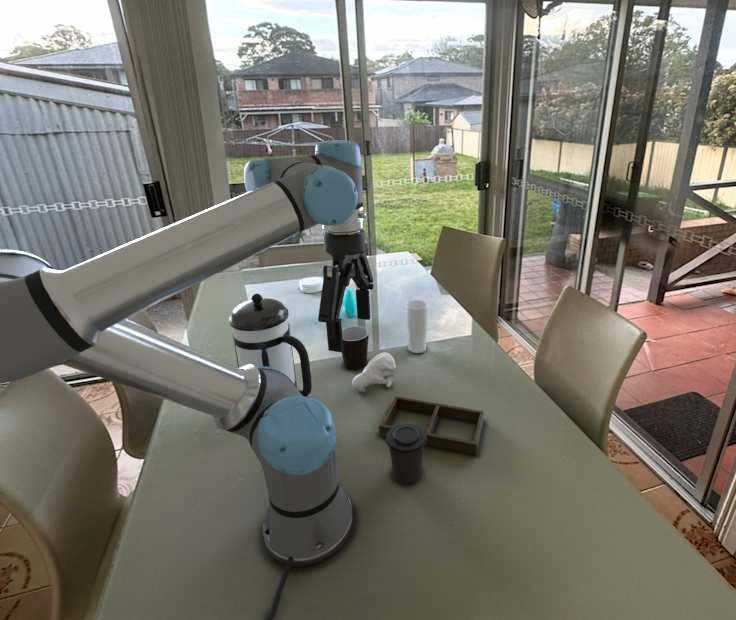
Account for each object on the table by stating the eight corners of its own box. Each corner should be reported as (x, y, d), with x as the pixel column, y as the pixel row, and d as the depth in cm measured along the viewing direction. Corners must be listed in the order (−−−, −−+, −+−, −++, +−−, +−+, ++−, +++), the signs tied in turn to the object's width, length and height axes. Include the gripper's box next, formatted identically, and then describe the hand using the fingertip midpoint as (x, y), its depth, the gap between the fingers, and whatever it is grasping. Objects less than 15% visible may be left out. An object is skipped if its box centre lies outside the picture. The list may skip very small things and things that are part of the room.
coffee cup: (380, 484, 86) (378, 443, 82) (394, 454, 93) (393, 416, 90) (420, 493, 84) (420, 452, 80) (431, 462, 91) (431, 423, 87)
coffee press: (237, 433, 100) (214, 314, 89) (243, 392, 114) (224, 285, 103) (315, 419, 104) (303, 304, 93) (311, 381, 118) (300, 277, 107)
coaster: (297, 286, 181) (297, 278, 180) (321, 282, 185) (321, 274, 184) (302, 295, 173) (302, 286, 171) (327, 290, 176) (327, 282, 175)
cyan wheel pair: (357, 320, 152) (356, 294, 148) (328, 325, 148) (326, 298, 145) (350, 309, 160) (349, 283, 157) (323, 313, 157) (320, 288, 153)
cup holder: (476, 456, 93) (476, 444, 92) (379, 436, 98) (379, 425, 97) (483, 421, 103) (484, 411, 102) (395, 406, 108) (395, 395, 107)
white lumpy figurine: (397, 356, 113) (355, 374, 108) (400, 383, 117) (360, 401, 111) (385, 345, 118) (344, 362, 113) (389, 371, 122) (349, 389, 116)
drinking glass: (401, 352, 132) (400, 306, 127) (412, 342, 138) (412, 298, 132) (422, 357, 129) (421, 311, 124) (432, 346, 135) (432, 302, 129)
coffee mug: (365, 374, 121) (363, 342, 118) (335, 370, 123) (333, 339, 119) (376, 352, 132) (375, 322, 128) (349, 349, 134) (347, 320, 130)
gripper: (332, 252, 68) (341, 370, 75) (386, 215, 90) (389, 309, 98) (289, 248, 70) (302, 363, 77) (352, 213, 92) (358, 305, 100)
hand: (351, 333), depth 87 cm, fingers open, 13 cm apart
